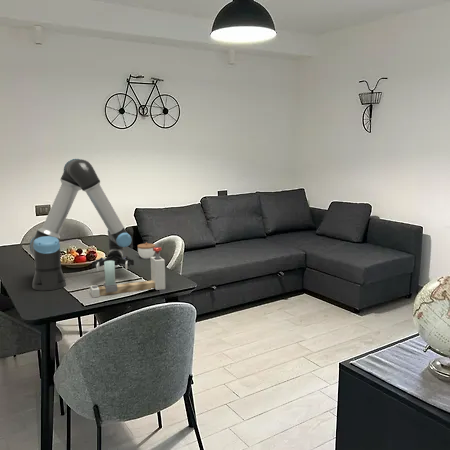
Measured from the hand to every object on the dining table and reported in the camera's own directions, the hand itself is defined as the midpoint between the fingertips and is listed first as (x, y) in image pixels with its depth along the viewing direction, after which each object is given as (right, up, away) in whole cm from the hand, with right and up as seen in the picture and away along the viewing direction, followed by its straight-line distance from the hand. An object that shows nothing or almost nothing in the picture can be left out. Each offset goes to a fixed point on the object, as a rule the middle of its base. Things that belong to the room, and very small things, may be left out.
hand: (111, 267), depth 219 cm
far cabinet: (+22, -9, +1) cm, 24 cm away
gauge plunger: (+22, -2, 0) cm, 22 cm away
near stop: (-5, -11, -11) cm, 16 cm away
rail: (+8, -10, -5) cm, 14 cm away
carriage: (+1, -10, -8) cm, 13 cm away
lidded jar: (+6, 0, +60) cm, 61 cm away
